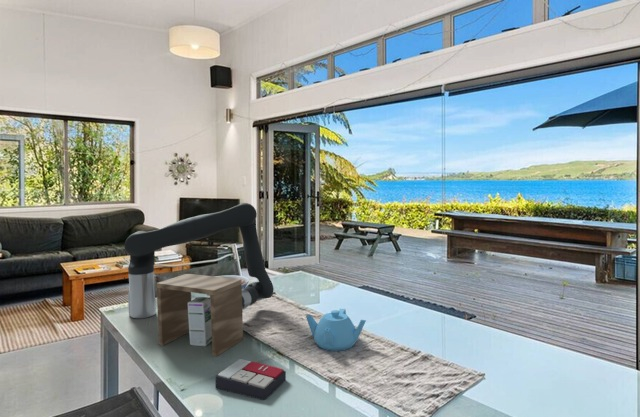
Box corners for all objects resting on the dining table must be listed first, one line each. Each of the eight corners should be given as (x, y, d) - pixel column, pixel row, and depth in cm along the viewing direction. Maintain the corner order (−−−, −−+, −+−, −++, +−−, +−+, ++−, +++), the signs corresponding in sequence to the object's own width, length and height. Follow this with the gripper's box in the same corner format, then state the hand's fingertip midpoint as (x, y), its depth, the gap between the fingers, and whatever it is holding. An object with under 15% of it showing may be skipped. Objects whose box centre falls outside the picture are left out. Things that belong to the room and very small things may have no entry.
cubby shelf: (159, 345, 136) (156, 283, 135) (189, 330, 149) (186, 273, 147) (216, 356, 127) (214, 290, 125) (243, 339, 139) (241, 279, 138)
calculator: (264, 387, 102) (214, 373, 108) (264, 404, 102) (214, 389, 108) (286, 368, 112) (239, 356, 118) (286, 383, 112) (239, 370, 118)
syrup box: (205, 346, 134) (204, 302, 133) (189, 345, 136) (187, 301, 134) (213, 339, 140) (212, 297, 139) (197, 338, 141) (195, 296, 140)
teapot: (368, 347, 132) (368, 314, 131) (326, 357, 125) (326, 322, 125) (344, 331, 146) (344, 301, 145) (305, 339, 139) (304, 308, 138)
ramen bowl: (262, 294, 192) (261, 277, 191) (225, 308, 173) (225, 289, 172) (222, 287, 205) (222, 271, 205) (185, 299, 186) (184, 281, 185)
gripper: (220, 289, 158) (191, 301, 143) (252, 293, 152) (225, 306, 137) (221, 309, 159) (192, 323, 144) (253, 313, 153) (226, 328, 138)
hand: (208, 315), depth 141 cm, fingers open, 8 cm apart
